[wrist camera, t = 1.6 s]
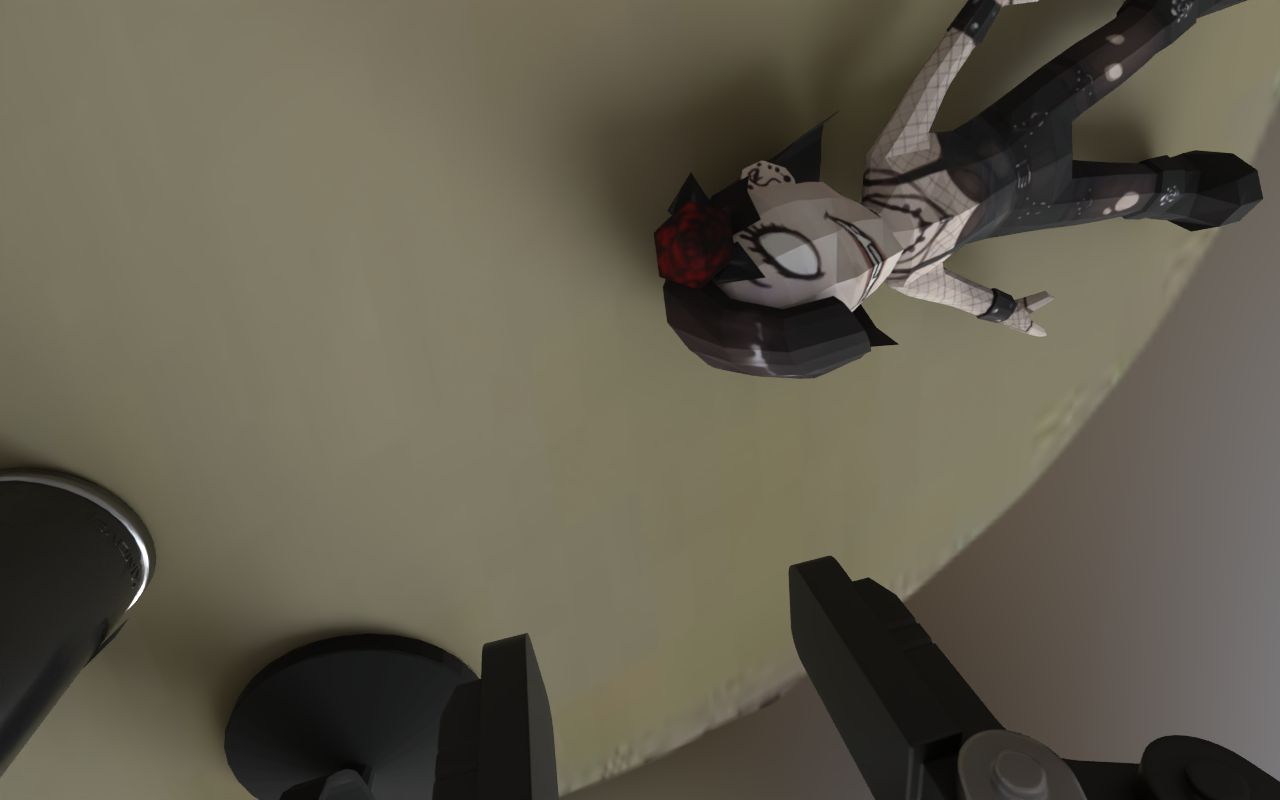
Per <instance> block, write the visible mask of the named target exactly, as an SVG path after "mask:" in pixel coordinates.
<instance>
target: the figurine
mask: <svg viewBox="0 0 1280 800" xmlns="http://www.w3.org/2000/svg"><path fill="white" fill-rule="evenodd" d="M1037 1H1039V0H968V1H967V3H966V4H965V6H964V7H963V8H962V10H961V11H960V12H959V14H958V15H957V17H956V18H955V19H954V21H953V22H952V23H951V25H950V26H949V27H948V29H947V32H948V33H947V34H946V36H945V37H944V39H943V40H942V41H941V43H940V44H939V46H938V47H937V49H936V50H935V52H934V53H933V54H932V56H931V57H930V59H929V60H928V62H927V63H926V64H925V66H924V67H923V69H922V70H921V71H920V73H919V74H918V75H917V77H916V78H915V79H914V81H913V82H912V84H911V85H910V87H909V88H908V90H907V92H906V93H905V95H904V97H903V98H902V100H901V102H900V103H899V105H898V107H897V109H896V110H895V112H894V114H893V115H892V117H891V119H890V120H889V122H888V123H887V125H886V126H885V128H884V129H883V131H882V132H881V134H880V135H879V137H878V138H877V140H876V141H875V143H874V144H873V145H872V147H871V148H870V150H869V151H868V153H867V154H866V156H865V164H864V176H863V189H862V204H860V203H858V202H856V201H853V200H851V199H848V198H846V197H844V196H841V195H840V194H838V193H837V192H836V191H834V190H833V189H832V188H830V187H829V186H828V185H826V184H825V183H824V182H819V177H820V165H821V136H822V130H823V125H824V123H825V122H826V121H827V120H829V119H830V118H831V117H832V116H833V115H835V114H836V113H837V112H836V113H835V114H833V115H832V116H830V117H829V118H827V119H826V120H825V121H823V122H822V123H820V124H819V125H817V126H816V127H815V128H813V129H812V130H810V131H809V132H807V133H806V134H804V135H803V136H802V137H800V138H799V139H798V140H796V141H795V142H794V143H792V144H791V145H790V146H788V147H787V148H786V149H784V150H783V151H782V152H780V153H779V154H778V155H776V156H775V157H774V158H772V159H770V160H769V161H767V162H766V161H762V160H761V161H759V162H757V163H755V164H753V165H751V166H749V167H747V168H745V169H743V170H742V175H741V178H740V179H739V180H737V181H736V182H734V183H732V184H731V185H729V186H728V187H726V188H724V189H723V190H721V191H719V192H718V193H716V194H715V195H713V196H712V197H711V198H710V200H709V199H708V198H707V196H706V195H705V193H704V192H703V190H702V188H701V187H700V185H699V184H698V182H697V181H696V179H695V178H694V176H693V174H692V173H690V175H689V176H688V178H687V180H686V181H685V183H684V184H683V186H682V188H681V189H680V191H679V193H678V194H677V196H676V197H675V199H674V201H673V202H672V204H671V206H670V207H669V209H668V212H669V213H670V214H671V215H672V216H670V217H669V218H668V219H667V220H666V221H665V222H664V223H663V224H662V225H661V226H660V227H659V228H658V229H657V230H656V231H655V232H654V238H655V246H656V253H657V261H658V268H659V276H660V277H662V278H665V283H664V286H663V292H664V300H665V308H666V316H667V322H668V324H669V325H670V326H671V327H672V329H673V330H674V331H675V332H676V334H677V335H678V336H679V337H680V339H681V340H682V341H683V342H684V344H685V345H686V346H687V347H688V348H689V349H690V350H691V351H692V352H694V353H695V354H696V355H698V356H699V357H700V358H701V359H702V360H703V361H704V362H706V363H707V364H708V365H710V366H712V367H714V368H718V369H723V370H727V371H732V372H737V373H743V374H748V375H753V376H761V377H781V378H800V379H801V378H816V377H818V376H821V375H823V374H826V373H828V372H830V371H833V370H835V369H837V368H839V367H841V366H843V365H845V364H847V363H850V362H852V361H855V360H857V359H860V358H861V357H862V356H863V355H864V354H866V353H868V352H870V351H871V347H872V346H884V345H897V344H898V343H896V342H895V341H894V340H892V339H891V338H890V337H888V336H887V335H886V334H884V333H883V332H882V331H880V330H879V329H878V328H876V326H875V325H874V323H873V322H872V320H871V319H870V317H869V316H868V314H867V313H866V311H865V310H864V308H863V307H862V305H861V303H862V302H863V301H864V300H865V299H866V298H867V297H868V296H869V295H870V294H871V293H873V292H874V291H875V290H876V289H877V288H878V287H879V286H880V284H881V283H882V282H883V281H885V282H886V283H887V284H888V285H889V286H890V287H891V288H893V289H895V290H897V291H899V292H901V293H903V294H905V295H907V296H911V297H915V298H919V299H924V300H928V301H933V302H937V303H941V304H945V305H950V306H953V307H956V308H959V309H961V310H964V311H966V312H969V313H972V314H974V315H976V316H977V318H978V319H983V320H987V321H991V322H995V323H999V322H1002V323H1004V324H1005V325H1006V326H1007V327H1009V328H1012V329H1015V330H1017V331H1021V332H1024V333H1027V334H1031V335H1034V336H1041V337H1042V336H1047V334H1046V331H1045V330H1044V329H1043V328H1041V327H1040V326H1038V325H1037V324H1035V323H1034V322H1033V321H1032V320H1030V319H1029V318H1028V317H1027V315H1028V314H1030V313H1031V312H1033V311H1035V310H1037V309H1038V308H1040V307H1042V306H1044V305H1045V304H1047V303H1049V302H1051V301H1052V300H1054V299H1055V298H1054V297H1053V296H1051V295H1050V294H1048V293H1047V292H1046V291H1044V292H1041V293H1037V294H1034V295H1030V296H1027V297H1024V298H1020V299H1017V300H1014V299H1013V298H1012V296H1011V295H1009V294H1007V293H1004V292H1002V291H1000V290H998V289H996V288H992V289H989V288H987V287H984V286H982V285H980V284H977V283H975V282H973V281H970V280H968V279H966V278H964V277H962V276H959V275H957V274H955V273H954V272H952V271H950V270H948V269H946V268H944V267H943V261H944V260H945V259H947V258H948V257H949V256H950V255H952V254H953V253H954V252H956V251H957V250H958V249H959V248H961V247H962V246H963V245H965V244H967V243H971V242H974V241H978V240H982V239H986V238H992V237H998V236H1004V235H1010V234H1016V233H1021V232H1027V231H1033V230H1040V229H1047V228H1055V227H1064V226H1072V225H1079V224H1084V223H1090V222H1095V221H1101V220H1106V219H1110V218H1115V217H1120V216H1122V217H1123V218H1124V219H1143V218H1150V219H1159V220H1168V221H1170V222H1172V223H1174V224H1176V225H1178V226H1181V227H1183V228H1185V229H1187V230H1189V231H1196V230H1202V229H1208V228H1213V227H1219V226H1222V225H1226V224H1230V223H1233V222H1237V221H1240V220H1241V219H1242V218H1243V217H1244V216H1245V215H1246V214H1247V213H1248V212H1249V211H1250V210H1252V209H1253V208H1254V207H1255V205H1257V204H1258V203H1259V202H1260V201H1261V200H1262V199H1263V196H1262V191H1261V186H1260V181H1259V176H1258V171H1257V170H1256V169H1255V168H1253V167H1252V166H1250V165H1249V164H1247V163H1246V162H1244V161H1243V160H1242V159H1240V158H1239V157H1237V156H1236V155H1234V154H1232V153H1220V152H1209V151H1197V150H1195V151H1191V152H1187V153H1183V154H1180V155H1177V156H1174V157H1171V158H1170V157H1169V156H1167V155H1165V156H1160V157H1155V158H1151V159H1147V160H1144V161H1141V162H1139V163H1109V162H1092V161H1078V160H1072V121H1073V120H1074V119H1076V118H1077V117H1078V116H1079V115H1080V114H1081V113H1083V112H1084V111H1085V110H1087V109H1088V108H1089V107H1091V106H1092V105H1094V104H1095V103H1096V102H1098V101H1099V100H1100V99H1102V98H1103V97H1104V96H1106V95H1107V94H1108V93H1110V92H1111V91H1113V90H1114V89H1115V88H1117V87H1118V86H1119V85H1121V84H1122V83H1123V82H1124V81H1126V80H1127V79H1128V78H1129V77H1130V76H1132V75H1133V74H1134V73H1135V72H1136V71H1138V70H1139V69H1140V68H1141V67H1142V66H1143V65H1144V64H1145V63H1147V62H1148V61H1149V60H1150V59H1151V58H1152V57H1153V56H1154V55H1155V54H1156V53H1158V52H1159V51H1161V50H1162V49H1164V48H1165V47H1167V46H1169V45H1170V44H1172V43H1173V42H1174V41H1175V40H1176V39H1177V38H1179V37H1180V36H1181V35H1182V34H1183V33H1184V32H1186V31H1187V30H1188V29H1189V28H1190V27H1191V26H1193V25H1194V24H1195V23H1196V19H1197V18H1199V17H1202V16H1205V15H1208V14H1210V13H1213V12H1216V11H1219V10H1222V9H1224V8H1227V7H1230V6H1233V5H1235V4H1238V3H1241V2H1244V1H1247V0H1126V1H1125V2H1124V4H1123V5H1122V6H1121V8H1120V9H1119V11H1118V12H1117V16H1116V18H1115V19H1113V20H1112V21H1110V22H1109V23H1107V24H1106V25H1104V26H1103V27H1101V28H1100V29H1098V30H1096V31H1095V32H1093V33H1092V34H1090V35H1088V36H1087V37H1085V38H1084V39H1082V40H1080V41H1079V42H1077V43H1076V44H1074V45H1073V46H1071V47H1070V48H1068V49H1067V50H1065V51H1064V52H1063V53H1061V54H1060V55H1058V56H1057V57H1055V58H1054V59H1053V60H1051V61H1050V62H1048V63H1047V64H1045V65H1044V66H1043V67H1041V68H1040V69H1038V70H1037V71H1036V72H1034V73H1033V74H1032V75H1031V76H1029V77H1028V78H1027V79H1025V80H1024V81H1023V82H1022V83H1020V84H1019V85H1018V86H1016V87H1015V88H1014V89H1012V90H1011V91H1010V92H1008V93H1007V94H1006V95H1004V96H1003V97H1002V98H1000V99H999V100H998V101H996V102H995V103H994V104H992V105H991V106H990V107H988V108H987V109H986V110H984V111H983V112H981V113H980V114H979V115H977V116H976V117H975V118H973V119H971V120H970V121H968V122H966V123H965V124H963V125H962V126H960V127H958V128H957V129H955V130H953V131H949V132H934V133H929V129H930V127H931V125H932V123H933V120H934V118H935V116H936V114H937V111H938V109H939V107H940V104H941V102H942V100H943V98H944V95H945V93H946V91H947V89H948V87H949V85H950V84H951V82H952V80H953V79H954V77H955V76H956V74H957V73H958V71H959V70H960V68H961V67H962V65H963V64H964V62H965V61H966V59H967V58H968V56H969V55H970V53H971V52H972V50H973V49H974V47H975V46H976V45H978V44H980V43H981V42H982V40H983V38H984V37H985V35H986V33H987V31H988V30H989V28H990V26H991V25H992V23H993V21H994V19H995V18H996V16H997V14H998V13H999V11H1000V9H1001V8H1002V7H1003V6H1004V5H1012V4H1020V3H1029V2H1037Z"/></svg>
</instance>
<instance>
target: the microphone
mask: <svg viewBox="0 0 1280 800" xmlns="http://www.w3.org/2000/svg"><path fill="white" fill-rule="evenodd" d="M475 680H479V679H478V677H477V676H476V675H475V674H474V673H473V672H472V671H471V670H470V669H469V668H468V667H467V666H466V665H465V664H464V663H463V662H461V661H460V660H459V659H457V658H456V657H454V656H452V655H451V654H449V653H448V652H446V651H444V650H442V649H440V648H437V647H435V646H432V645H429V644H427V643H424V642H422V641H417V640H413V639H408V638H403V637H398V636H387V635H372V634H367V635H354V636H342V637H337V638H332V639H328V640H323V641H319V642H315V643H312V644H310V645H307V646H304V647H302V648H299V649H296V650H294V651H291V652H289V653H288V654H286V655H284V656H282V657H281V658H279V659H277V660H275V661H274V662H272V663H270V664H269V665H268V666H266V667H265V668H264V669H263V670H262V671H261V672H260V673H258V674H257V675H256V676H255V677H254V678H253V679H252V680H251V681H250V682H249V684H248V685H247V687H246V688H245V689H244V691H243V692H242V694H241V695H240V696H239V698H238V701H237V703H236V705H235V707H234V709H233V711H232V714H231V716H230V719H229V722H228V724H227V727H226V730H225V745H224V748H225V753H226V757H227V761H228V765H229V766H230V768H231V770H232V771H233V773H234V775H235V777H236V778H237V780H238V781H239V782H240V783H241V784H242V785H243V786H244V787H245V788H246V790H247V791H248V792H249V793H250V794H251V795H253V796H254V797H256V798H258V799H259V800H432V795H433V785H434V783H435V766H436V756H437V755H438V749H437V747H438V737H439V727H440V718H441V715H442V713H443V711H444V709H445V707H446V705H447V703H448V701H449V699H450V697H451V695H452V693H453V691H454V689H455V687H456V685H459V684H463V683H467V682H471V681H475Z"/></svg>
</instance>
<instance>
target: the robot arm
mask: <svg viewBox="0 0 1280 800" xmlns="http://www.w3.org/2000/svg"><path fill="white" fill-rule="evenodd" d="M155 563H156V555H155V548H154V544H153V541H152V538H151V535H150V533H149V532H148V530H147V528H146V526H145V525H144V523H143V522H142V520H141V519H140V518H139V517H138V516H137V514H136V513H135V512H134V511H133V510H132V509H131V508H130V507H129V506H127V505H126V504H125V503H124V502H123V501H121V500H120V499H118V498H117V497H116V496H114V495H113V494H111V493H109V492H108V491H106V490H104V489H103V488H101V487H99V486H97V485H95V484H92V483H90V482H87V481H85V480H83V479H80V478H77V477H74V476H70V475H67V474H63V473H58V472H53V471H47V470H40V469H6V470H0V778H1V776H2V775H3V774H4V772H5V771H6V770H7V768H8V767H9V766H10V764H11V763H12V762H13V760H14V759H15V758H16V756H17V755H18V754H19V752H20V751H21V750H22V748H23V747H24V746H25V744H26V743H27V742H28V740H29V739H30V738H31V736H32V735H33V734H34V732H35V731H36V730H37V728H38V727H39V726H40V724H41V723H42V722H43V720H44V719H45V718H46V716H47V715H48V714H49V712H50V711H51V710H52V708H53V707H54V706H55V704H56V703H57V702H58V700H59V699H60V698H61V696H62V695H63V694H64V692H65V691H66V690H67V688H68V687H69V686H70V685H71V683H72V682H73V681H74V679H75V678H76V677H77V675H78V674H79V673H80V671H81V670H82V669H83V668H84V667H85V666H86V665H87V664H88V663H89V662H90V661H91V660H92V659H93V658H94V657H95V656H96V655H97V654H98V653H99V652H100V651H101V650H102V649H103V648H104V647H105V646H106V645H107V644H108V643H109V642H111V641H112V640H113V639H114V638H115V636H116V635H117V634H118V632H119V631H120V630H121V628H122V627H123V626H124V624H125V623H126V621H127V620H128V619H129V618H128V619H127V620H126V621H125V622H124V623H123V624H122V625H121V626H120V627H119V628H118V629H117V630H116V631H115V632H114V633H113V634H112V635H111V636H110V637H109V638H108V639H107V640H106V641H105V642H104V643H103V644H102V645H101V643H102V642H103V641H104V640H105V638H106V637H107V636H108V634H109V633H110V632H111V630H112V629H113V628H114V626H115V625H116V624H117V622H118V621H119V620H120V618H121V617H122V616H123V614H124V613H125V612H126V611H127V610H128V609H129V608H130V607H131V606H132V605H133V604H134V603H135V602H136V600H137V599H138V598H139V596H140V595H141V594H142V592H143V591H144V590H145V588H146V587H147V585H148V584H149V582H150V580H151V578H152V576H153V573H154V569H155ZM789 593H790V614H791V630H792V635H793V640H794V643H795V647H796V650H797V653H798V655H799V658H800V660H801V662H802V664H803V666H804V668H805V670H806V672H807V673H808V675H809V677H810V679H811V681H812V683H813V685H814V686H815V688H816V690H817V692H818V694H819V696H820V697H821V699H822V701H823V703H824V705H825V707H826V709H827V711H828V712H829V714H830V716H831V718H832V720H833V722H834V723H835V726H836V727H837V729H838V731H839V733H840V735H841V737H842V738H843V740H844V742H845V744H846V746H847V748H848V750H849V752H850V754H851V755H852V757H853V759H854V761H855V763H856V765H857V767H858V768H859V770H860V772H861V774H862V776H863V778H864V780H865V781H866V783H867V785H868V787H869V789H870V791H871V793H872V795H873V796H874V798H875V800H1280V782H1279V781H1278V780H1276V779H1275V778H1273V777H1272V776H1270V775H1269V774H1267V773H1266V772H1264V771H1263V770H1261V769H1260V768H1258V767H1257V766H1255V765H1254V764H1252V763H1251V762H1249V761H1247V760H1246V759H1244V758H1243V757H1241V756H1239V755H1238V754H1236V753H1235V752H1233V751H1231V750H1229V749H1227V748H1224V747H1222V746H1220V745H1218V744H1215V743H1212V742H1210V741H1207V740H1203V739H1200V738H1196V737H1190V736H1180V735H1172V736H1164V737H1161V738H1158V739H1156V740H1154V741H1153V742H1151V743H1150V744H1149V745H1148V746H1147V747H1146V749H1145V751H1144V753H1143V756H1142V759H1141V762H1140V764H1133V763H1114V762H1095V761H1077V760H1069V759H1064V758H1060V757H1059V756H1058V755H1057V754H1056V753H1055V752H1053V751H1052V750H1051V749H1050V748H1048V747H1047V746H1045V745H1043V744H1042V743H1040V742H1039V741H1037V740H1035V739H1033V738H1031V737H1029V736H1026V735H1023V734H1020V733H1017V732H1013V731H1009V730H1006V729H1005V728H1004V727H1003V726H1002V725H1001V724H1000V723H999V722H998V721H997V719H996V718H995V717H994V716H993V715H992V713H991V712H990V711H989V710H988V709H987V707H986V706H985V705H984V704H983V702H982V701H981V700H980V699H979V697H978V696H977V695H976V694H975V692H974V691H973V690H972V689H971V687H970V686H969V685H968V684H967V682H966V681H965V680H964V679H963V677H962V676H961V675H960V674H959V672H958V671H957V670H956V669H955V667H954V666H953V665H952V664H951V663H950V661H949V660H948V659H947V658H946V656H945V655H944V654H943V653H942V651H941V650H940V649H939V648H938V646H937V645H936V644H933V643H932V641H931V638H930V636H929V635H928V634H927V633H926V632H925V630H924V629H923V628H922V627H921V625H920V624H919V623H918V624H917V623H916V621H915V618H914V617H913V615H912V614H911V613H910V612H909V610H908V609H907V608H906V607H905V605H904V604H903V603H902V602H901V600H900V599H899V598H898V597H897V595H895V594H894V593H892V592H891V591H889V590H888V589H886V588H884V587H883V586H881V585H880V584H878V583H877V582H875V581H874V580H872V579H870V578H865V579H861V580H857V581H853V582H852V580H851V579H850V578H849V576H848V575H847V574H846V572H845V571H844V570H843V568H842V567H841V565H840V564H839V563H838V562H837V560H836V559H835V558H834V557H832V556H826V557H822V558H818V559H814V560H810V561H806V562H802V563H798V564H794V565H791V566H790V568H789ZM100 645H101V646H100ZM99 646H100V647H99ZM98 647H99V648H98ZM437 749H438V755H437V756H436V766H435V783H434V785H433V795H432V800H559V797H558V784H557V772H556V759H555V747H554V734H553V725H552V718H551V712H550V706H549V701H548V697H547V693H546V690H545V686H544V683H543V680H542V676H541V673H540V670H539V666H538V663H537V660H536V656H535V653H534V650H533V646H532V643H531V640H530V637H529V635H528V633H525V634H521V635H517V636H513V637H509V638H505V639H502V640H498V641H494V642H490V643H486V644H484V646H483V650H482V671H481V679H479V680H475V681H471V682H467V683H463V684H459V685H456V687H455V689H454V691H453V693H452V695H451V697H450V699H449V701H448V703H447V705H446V707H445V709H444V711H443V713H442V715H441V718H440V727H439V737H438V747H437Z"/></svg>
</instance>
